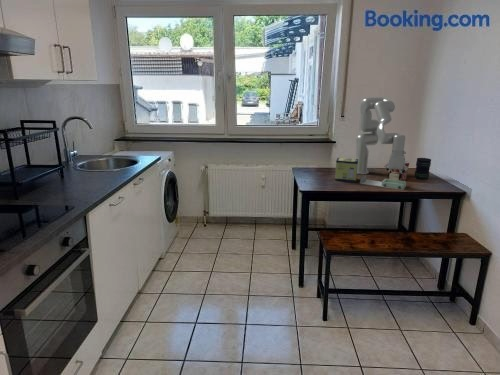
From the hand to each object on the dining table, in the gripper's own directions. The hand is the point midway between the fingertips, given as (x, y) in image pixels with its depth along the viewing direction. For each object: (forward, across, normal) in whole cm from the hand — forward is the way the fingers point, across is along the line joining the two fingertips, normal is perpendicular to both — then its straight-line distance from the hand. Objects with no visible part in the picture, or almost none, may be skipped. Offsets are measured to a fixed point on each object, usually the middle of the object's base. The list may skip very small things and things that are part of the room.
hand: (394, 177), depth 237 cm
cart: (+6, 0, 0) cm, 6 cm away
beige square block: (+1, 0, 0) cm, 1 cm away
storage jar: (+6, -13, -34) cm, 37 cm away
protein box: (+6, +34, +1) cm, 35 cm away
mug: (+6, +1, -22) cm, 23 cm away
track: (+6, +8, 0) cm, 10 cm away
